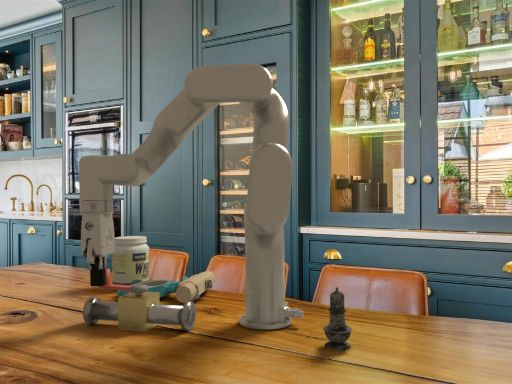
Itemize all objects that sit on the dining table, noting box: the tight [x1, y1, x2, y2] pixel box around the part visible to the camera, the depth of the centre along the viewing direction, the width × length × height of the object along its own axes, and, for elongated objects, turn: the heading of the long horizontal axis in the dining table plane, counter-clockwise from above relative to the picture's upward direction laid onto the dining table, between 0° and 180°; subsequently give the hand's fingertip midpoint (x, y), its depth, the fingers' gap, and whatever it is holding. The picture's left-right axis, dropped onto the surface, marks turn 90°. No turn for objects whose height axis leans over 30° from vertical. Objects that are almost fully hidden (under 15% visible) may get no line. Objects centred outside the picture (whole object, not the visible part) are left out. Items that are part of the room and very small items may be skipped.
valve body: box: [82, 292, 197, 333], centre depth 108 cm, size 26×7×8 cm, turn 76°
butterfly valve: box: [116, 270, 216, 304], centre depth 138 cm, size 27×7×30 cm
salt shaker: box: [322, 286, 353, 351], centre depth 93 cm, size 6×6×12 cm
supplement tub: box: [111, 235, 151, 285], centre depth 153 cm, size 12×12×17 cm
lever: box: [97, 268, 148, 293], centre depth 110 cm, size 13×4×5 cm, turn 70°
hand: (98, 285), depth 108 cm, fingers closed
